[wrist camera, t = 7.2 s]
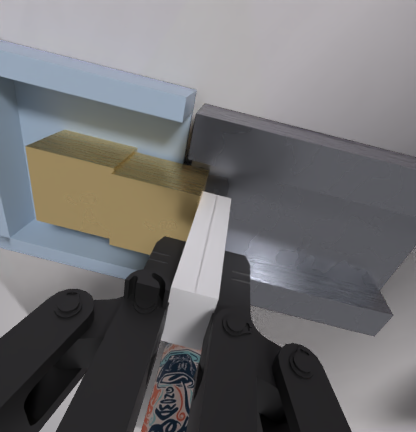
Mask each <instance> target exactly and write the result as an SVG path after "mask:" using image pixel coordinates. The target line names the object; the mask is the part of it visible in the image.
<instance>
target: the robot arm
mask: <svg viewBox="0 0 416 432" xmlns="http://www.w3.org/2000/svg"><path fill="white" fill-rule="evenodd" d="M230 205H231V198H227V197H223V196H219V195H215V194H212V193H208V192H204V191H203V194H202V197H201V200H200V203H199V206H198V209H197V211H196V214H195V217H194V220H193V223H192V226H191V229H190V232H189V235H188V238H187V241H182V240H178V239H174V238H170V237H166V236H164V237H163V238H162V239H160V240H159V241H158V242H156V244H155V246H154V248H153V250H152V252H151V254H150V257H149V259H148V261H147V263H146V265H145V267H144V269H141V270H137V271H135V272H133V273H131V274H130V275H129V276H128V277H127V278H126V279H125V288H124V296H123V297H120V298H117V299H110V300H93V298H92V296H91V295H90V294H89V293H87V292H86V291H83V290H80V289H67V290H64V291H60V292H58V293H56V294H55V295H53V296H51V297H50V298H49V299H47V300H46V301H45V302H44V303H43V304H41V305H40V306H39V307H38V308H36V309H35V310H34V311H33V312H32V313H30V314H29V315H28V316H27V317H25V318H24V319H23V320H22V321H21V322H19V323H18V324H17V325H16V326H14V327H13V328H12V329H11V330H10V331H9V332H7V333H6V334H5V335H3V337H1V338H0V432H39V431H40V430H41V428H42V427H43V426H44V424H45V423H46V422H47V421H48V420H49V418H50V417H51V416H52V414H53V413H54V412H55V411H56V409H57V408H58V407H59V406H60V404H61V403H62V402H63V401H64V399H65V398H66V397H67V396H68V394H69V393H70V392H71V391H72V389H73V388H74V387H75V386H76V384H77V383H78V382H79V381H80V379H81V378H82V377H83V376H84V377H83V379H82V381H81V383H80V385H79V387H78V389H77V391H76V393H75V395H74V397H73V399H72V401H71V403H70V405H69V407H68V409H67V411H66V413H65V415H64V417H63V419H62V421H61V422H60V424H59V426H58V428H57V430H56V432H133V431H134V428H135V425H136V422H137V418H138V415H139V412H140V409H141V405H142V402H143V399H144V396H145V392H146V389H147V386H148V383H149V379H150V376H151V373H152V369H153V366H154V363H155V360H156V356H157V351H158V347H159V344H160V341H164V342H168V343H172V344H176V345H180V346H184V347H188V348H192V349H196V350H200V351H201V348H202V351H201V357H200V361H199V363H198V366H197V369H196V372H195V375H194V377H193V379H195V383H194V389H193V395H192V401H191V407H190V413H189V418H188V424H187V430H186V432H351V429H350V427H349V425H348V423H347V420H346V418H345V416H344V414H343V411H342V409H341V407H340V405H339V402H338V400H337V398H336V396H335V393H334V391H333V389H332V387H331V384H330V382H329V380H328V378H327V375H326V373H325V371H324V369H323V366H322V364H321V363H320V361H319V360H318V358H317V357H316V356H315V355H314V354H313V353H312V352H311V351H310V350H309V349H307V348H306V347H304V346H302V345H299V344H294V343H291V344H286V345H285V346H283V347H280V346H278V345H277V344H275V343H273V342H271V341H270V340H268V339H267V338H265V337H264V336H262V335H261V334H260V333H259V332H258V331H257V329H256V328H255V326H254V324H253V322H252V320H251V315H250V264H249V262H248V260H247V258H246V256H244V255H240V254H236V253H232V252H229V251H225V245H226V237H227V229H228V221H229V213H230ZM85 373H86V374H85ZM84 374H85V375H84Z"/></svg>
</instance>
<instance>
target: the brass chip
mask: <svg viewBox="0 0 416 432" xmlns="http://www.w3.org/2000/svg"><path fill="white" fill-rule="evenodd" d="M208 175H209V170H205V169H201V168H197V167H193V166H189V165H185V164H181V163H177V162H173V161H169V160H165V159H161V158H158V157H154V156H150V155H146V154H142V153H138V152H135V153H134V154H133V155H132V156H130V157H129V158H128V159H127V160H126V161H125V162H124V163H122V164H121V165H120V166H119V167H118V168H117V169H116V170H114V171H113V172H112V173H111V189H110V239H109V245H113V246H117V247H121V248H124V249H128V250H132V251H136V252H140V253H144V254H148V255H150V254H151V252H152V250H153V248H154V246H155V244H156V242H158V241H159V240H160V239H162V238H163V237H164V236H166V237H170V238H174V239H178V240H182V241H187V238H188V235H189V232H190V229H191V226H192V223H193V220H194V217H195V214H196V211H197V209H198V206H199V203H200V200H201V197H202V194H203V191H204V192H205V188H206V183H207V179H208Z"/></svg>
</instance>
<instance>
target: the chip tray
mask: <svg viewBox="0 0 416 432" xmlns="http://www.w3.org/2000/svg"><path fill="white" fill-rule="evenodd" d="M196 91H197V90H195V89H191V88H187V87H183V86H179V85H176V84H172V83H168V82H164V81H160V80H156V79H152V78H148V77H144V76H140V75H136V74H132V73H129V72H125V71H121V70H117V69H113V68H109V67H105V66H101V65H97V64H93V63H89V62H85V61H81V60H78V59H74V58H70V57H66V56H62V55H58V54H54V53H50V52H46V51H42V50H38V49H34V48H31V47H27V46H23V45H19V44H15V43H11V42H7V41H3V40H0V248H3V249H7V250H11V251H15V252H19V253H23V254H27V255H31V256H35V257H39V258H43V259H47V260H51V261H55V262H59V263H63V264H67V265H70V266H74V267H78V268H82V269H86V270H90V271H94V272H98V273H102V274H106V275H110V276H114V277H118V278H122V279H126V278H127V277H128V276H129V275H130V274H131V273H133V272H135V271H137V270H141V269H144V267H145V265H146V263H147V261H148V259H149V257H150V255H148V254H144V253H140V252H136V251H132V250H128V249H124V248H121V247H117V246H113V245H109V238H105V237H101V236H97V235H93V234H89V233H85V232H81V231H77V230H73V229H69V228H65V227H61V226H57V225H53V224H49V223H45V222H41V221H37V220H36V213H35V207H34V200H33V194H32V187H31V181H30V174H29V168H28V161H27V155H26V148H25V146H27V145H29V144H31V143H34V142H36V141H38V140H41V139H43V138H45V137H48V136H50V135H53V134H55V133H57V132H60V131H62V130H64V129H65V130H69V131H73V132H77V133H81V134H85V135H89V136H92V137H96V138H100V139H104V140H108V141H112V142H116V143H120V144H124V145H128V146H132V147H136V148H137V152H138V153H142V154H146V155H150V156H154V157H158V158H161V159H165V160H169V161H173V162H177V163H181V164H184V159H185V153H186V147H187V142H188V136H189V130H190V125H191V119H192V113H193V108H194V102H195V96H196Z"/></svg>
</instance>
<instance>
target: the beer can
mask: <svg viewBox="0 0 416 432" xmlns="http://www.w3.org/2000/svg"><path fill="white" fill-rule="evenodd" d="M201 351H202V348H201ZM201 351H200V350H196V349H192V348H188V347H184V346H180V345H176V344H172V343H168V344H167V345H166V347H165V349H164V352H163V356H162V359H161V363H160V366H159V370H158V373H157V377H156V380H155V384H154V388H153V391H152V395H151V398H150V402H149V405H148V409H147V412H146V416H145V419H144V423H143V426H142V430H141V432H186V430H187V424H188V418H189V413H190V407H191V401H192V395H193V389H194V383H195V379H193V377H194V375H195V372H196V369H197V366H198V363H199V361H200V357H201Z"/></svg>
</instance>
